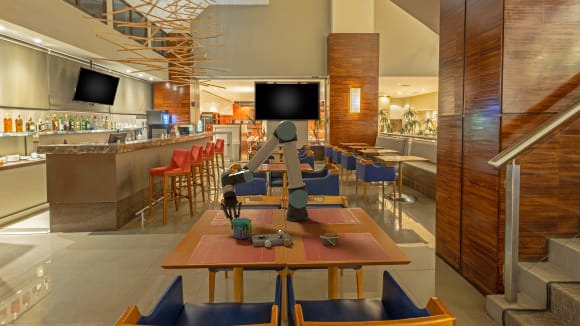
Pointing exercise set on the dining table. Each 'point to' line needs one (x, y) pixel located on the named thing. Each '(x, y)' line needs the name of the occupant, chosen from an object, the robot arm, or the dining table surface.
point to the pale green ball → (267, 243)
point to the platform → (330, 239)
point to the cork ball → (287, 242)
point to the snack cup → (241, 227)
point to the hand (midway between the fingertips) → (235, 227)
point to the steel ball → (280, 233)
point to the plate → (273, 238)
